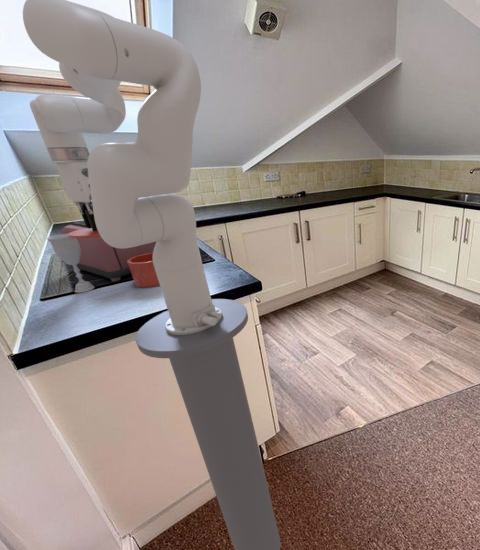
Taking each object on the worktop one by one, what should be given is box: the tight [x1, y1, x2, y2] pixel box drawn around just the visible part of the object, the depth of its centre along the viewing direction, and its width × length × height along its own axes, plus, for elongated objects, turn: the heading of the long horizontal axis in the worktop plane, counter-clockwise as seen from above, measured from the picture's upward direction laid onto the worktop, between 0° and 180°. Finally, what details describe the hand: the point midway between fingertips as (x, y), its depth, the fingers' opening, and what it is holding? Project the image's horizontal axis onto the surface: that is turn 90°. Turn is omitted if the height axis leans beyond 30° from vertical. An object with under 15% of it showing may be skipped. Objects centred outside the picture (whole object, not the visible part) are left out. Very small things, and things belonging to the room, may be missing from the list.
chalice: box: [46, 233, 96, 294], centre depth 95 cm, size 7×7×18 cm
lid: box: [68, 210, 101, 238], centre depth 82 cm, size 13×13×7 cm
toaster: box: [60, 220, 157, 283], centre depth 120 cm, size 31×36×18 cm
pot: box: [127, 253, 160, 288], centre depth 102 cm, size 12×12×8 cm
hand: (97, 227), depth 82 cm, fingers closed on lid, 2 cm apart
